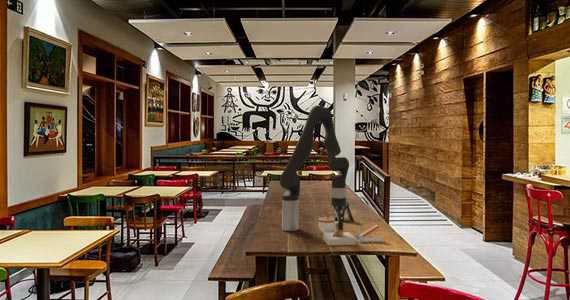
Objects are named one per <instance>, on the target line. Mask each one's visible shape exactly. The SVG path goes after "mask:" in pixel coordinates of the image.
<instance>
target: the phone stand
mask: <svg viewBox="0 0 570 300" xmlns="http://www.w3.org/2000/svg"><path fill="white" fill-rule="evenodd" d="M342 210H344V215H345V213H346V214H347V218H344V222H343V223H349V221H355V220H354V216H353V214H352V212H351V210H350V203H349V202H347V201H346V206H343V207H342ZM340 219H341V218H340Z"/></svg>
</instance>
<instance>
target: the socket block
mask: <svg viewBox="0 0 570 300" xmlns="http://www.w3.org/2000/svg"><path fill="white" fill-rule="evenodd" d="M355 238H356V237H355V236H354V235H352V233H351V232H349V231H343V237H334V232H333V233H322V239H323V241H324V242H325V243H326V245H327V246H348V245H349V246H350V245H352V246H353V245H354V246H355V245H357V241H356V239H355Z"/></svg>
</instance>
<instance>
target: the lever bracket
mask: <svg viewBox="0 0 570 300" xmlns="http://www.w3.org/2000/svg"><path fill="white" fill-rule="evenodd" d="M360 234H361V232H359V233H356V237H354V238H355V239H356V243H358V244H362V243H385V239H384V238H382V237H363V236H359V238H358V235H360Z"/></svg>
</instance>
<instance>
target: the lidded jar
mask: <svg viewBox="0 0 570 300" xmlns="http://www.w3.org/2000/svg"><path fill="white" fill-rule="evenodd" d="M317 220H318V221H317V222H318V223H317V224H318V229H319V230H320V232H321V233H322V234H323V233H334V221H335V218H334V216H330V215H327V216H324V217H323V216H322V217H321V216H320V217H319V218H317Z"/></svg>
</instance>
